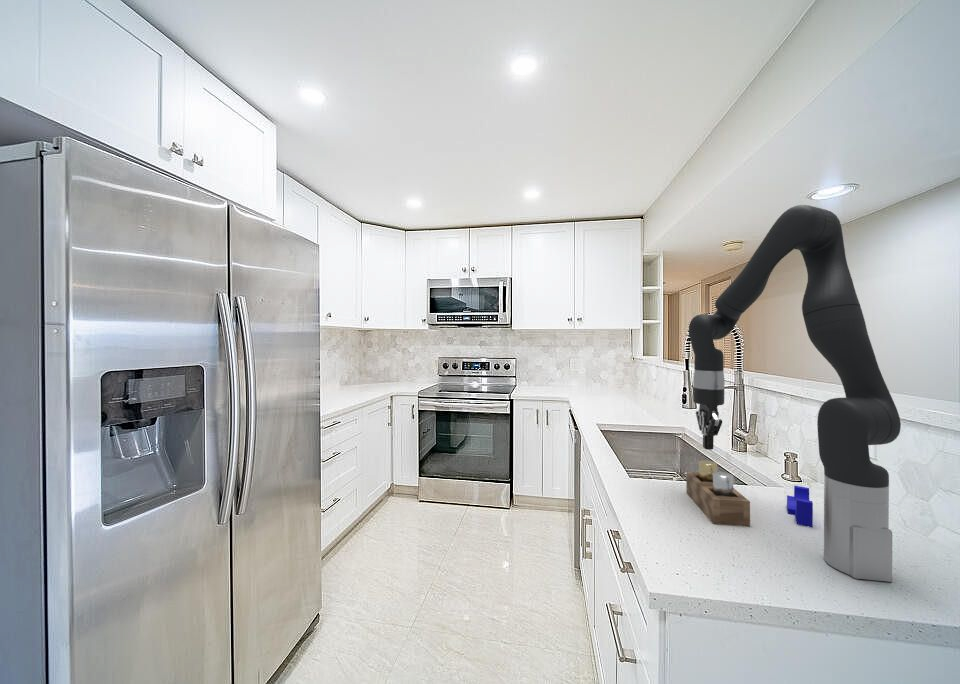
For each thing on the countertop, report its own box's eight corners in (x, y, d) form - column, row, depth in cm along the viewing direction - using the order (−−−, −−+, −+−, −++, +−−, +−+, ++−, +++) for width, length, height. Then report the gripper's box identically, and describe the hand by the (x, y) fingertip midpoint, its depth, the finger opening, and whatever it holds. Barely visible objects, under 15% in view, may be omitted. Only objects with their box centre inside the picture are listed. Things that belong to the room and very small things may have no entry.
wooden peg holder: (750, 526, 95) (750, 501, 95) (713, 523, 96) (713, 499, 96) (716, 494, 115) (716, 473, 115) (686, 492, 116) (686, 472, 116)
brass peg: (719, 485, 108) (719, 465, 108) (702, 484, 109) (702, 464, 109) (713, 480, 112) (713, 460, 112) (696, 479, 113) (696, 459, 113)
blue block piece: (786, 506, 107) (787, 484, 107) (808, 510, 104) (808, 487, 104) (788, 523, 97) (788, 498, 97) (812, 528, 95) (812, 503, 94)
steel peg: (736, 500, 98) (736, 478, 98) (717, 499, 99) (717, 477, 99) (728, 493, 102) (728, 472, 102) (710, 492, 103) (710, 471, 103)
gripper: (734, 390, 103) (733, 456, 103) (714, 384, 116) (713, 443, 116) (702, 389, 104) (702, 455, 105) (686, 383, 117) (685, 441, 118)
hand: (708, 448), depth 110 cm, fingers closed
